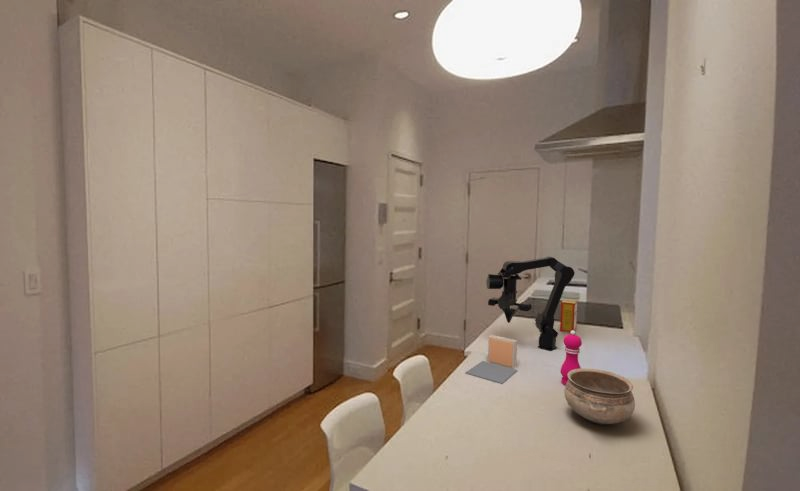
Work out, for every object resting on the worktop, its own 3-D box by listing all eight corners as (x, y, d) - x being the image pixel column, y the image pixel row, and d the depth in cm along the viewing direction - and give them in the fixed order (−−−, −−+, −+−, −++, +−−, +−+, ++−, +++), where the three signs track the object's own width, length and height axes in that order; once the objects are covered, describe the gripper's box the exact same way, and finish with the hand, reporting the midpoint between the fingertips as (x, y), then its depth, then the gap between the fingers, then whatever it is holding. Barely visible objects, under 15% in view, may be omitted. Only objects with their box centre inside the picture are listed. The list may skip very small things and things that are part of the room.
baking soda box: (573, 333, 201) (574, 303, 199) (559, 331, 204) (561, 301, 203) (576, 328, 209) (577, 299, 207) (563, 326, 212) (564, 298, 211)
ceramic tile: (490, 360, 163) (491, 334, 162) (516, 366, 156) (517, 340, 155) (487, 362, 161) (488, 336, 160) (513, 369, 154) (514, 342, 153)
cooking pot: (637, 450, 101) (640, 405, 100) (560, 431, 110) (562, 390, 109) (630, 407, 124) (632, 370, 123) (566, 394, 132) (567, 360, 131)
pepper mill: (581, 381, 142) (584, 329, 141) (581, 390, 136) (584, 334, 134) (560, 378, 145) (562, 326, 144) (559, 386, 139) (561, 331, 137)
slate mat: (482, 361, 161) (482, 360, 161) (517, 370, 152) (517, 369, 152) (465, 373, 149) (465, 372, 149) (502, 384, 140) (502, 382, 140)
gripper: (483, 289, 175) (482, 322, 176) (523, 294, 164) (522, 330, 165) (493, 285, 184) (492, 317, 185) (532, 290, 172) (531, 324, 174)
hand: (508, 322), depth 177 cm, fingers closed
